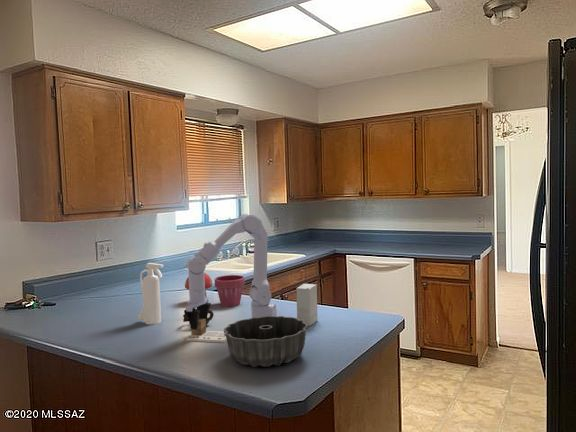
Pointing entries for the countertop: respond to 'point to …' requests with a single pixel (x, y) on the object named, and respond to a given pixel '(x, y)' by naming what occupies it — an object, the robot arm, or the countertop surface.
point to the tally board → (208, 337)
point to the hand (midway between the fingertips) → (198, 325)
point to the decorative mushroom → (207, 282)
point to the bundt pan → (266, 340)
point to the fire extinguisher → (151, 294)
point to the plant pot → (229, 289)
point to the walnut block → (199, 327)
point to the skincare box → (307, 303)
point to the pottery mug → (198, 317)
